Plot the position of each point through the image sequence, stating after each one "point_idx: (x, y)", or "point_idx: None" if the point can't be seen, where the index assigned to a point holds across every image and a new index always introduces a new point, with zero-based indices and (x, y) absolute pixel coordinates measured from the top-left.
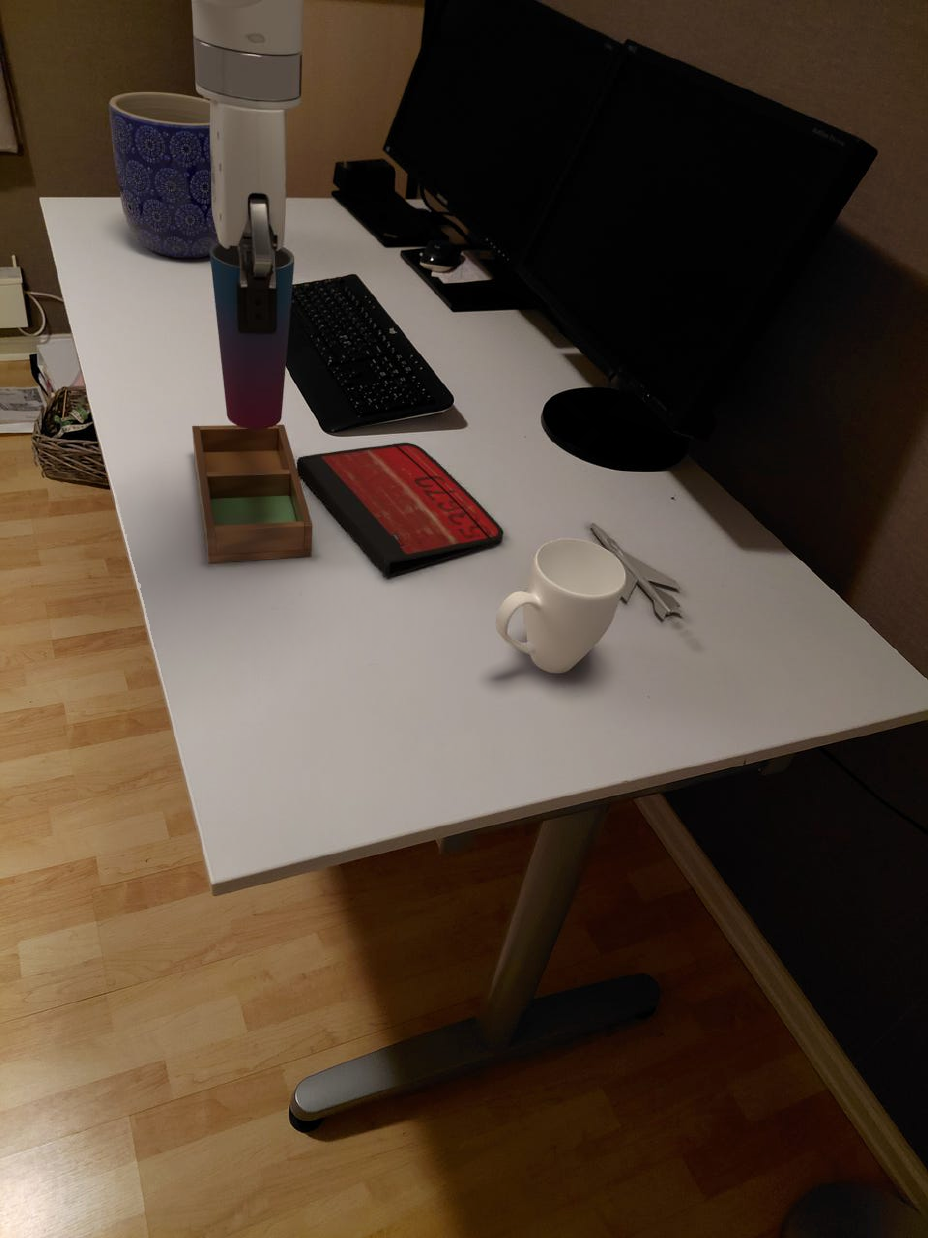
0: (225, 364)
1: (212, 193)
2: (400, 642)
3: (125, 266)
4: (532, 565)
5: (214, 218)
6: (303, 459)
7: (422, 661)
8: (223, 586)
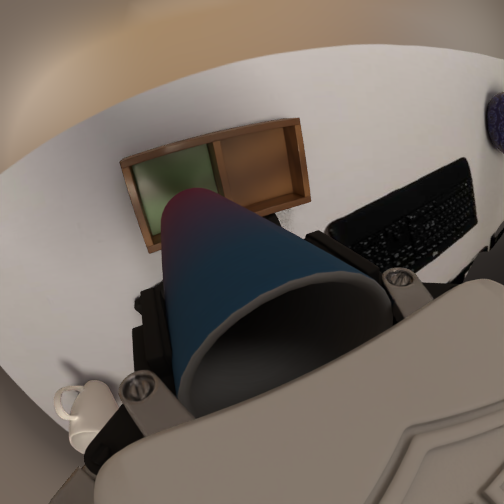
0: (179, 216)
1: (476, 396)
2: (73, 315)
3: (477, 85)
4: (90, 426)
5: (375, 371)
6: (272, 219)
7: (62, 328)
8: (95, 178)
